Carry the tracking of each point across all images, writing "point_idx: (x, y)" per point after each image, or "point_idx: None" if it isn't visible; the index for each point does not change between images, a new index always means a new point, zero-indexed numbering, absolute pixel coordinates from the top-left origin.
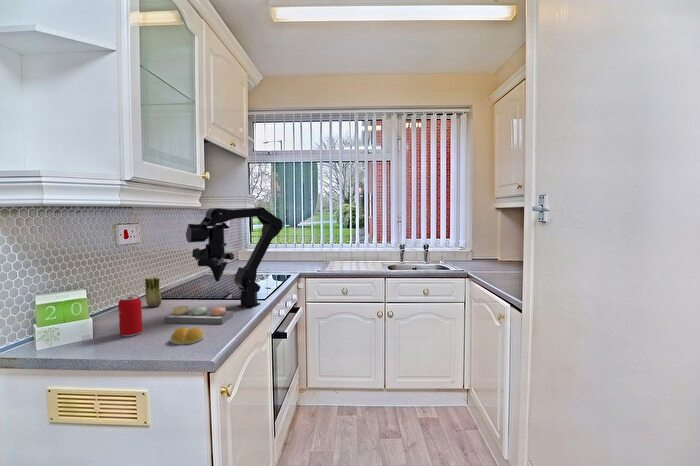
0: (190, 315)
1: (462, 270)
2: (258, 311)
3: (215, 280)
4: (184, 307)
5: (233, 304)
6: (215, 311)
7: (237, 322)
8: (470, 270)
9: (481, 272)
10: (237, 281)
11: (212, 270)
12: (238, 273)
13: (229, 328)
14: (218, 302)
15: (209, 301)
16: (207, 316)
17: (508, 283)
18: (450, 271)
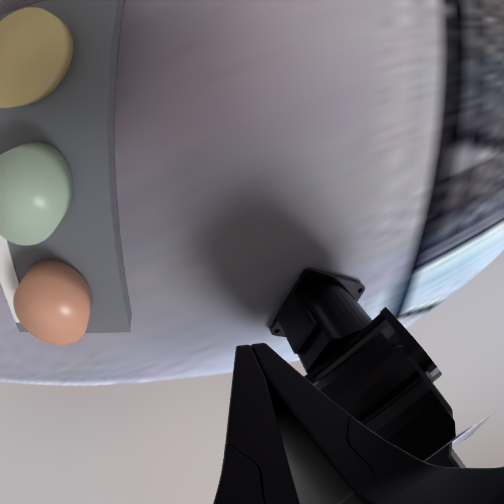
0: (4, 148)
1: None
2: (222, 369)
3: (236, 352)
4: (15, 82)
5: (350, 224)
6: (18, 312)
7: (67, 354)
8: None
9: None
10: (353, 387)
11: (218, 502)
12: (406, 420)
13: (8, 350)
14: (397, 129)
15: (417, 75)
16: (10, 259)
17: None
18: None
